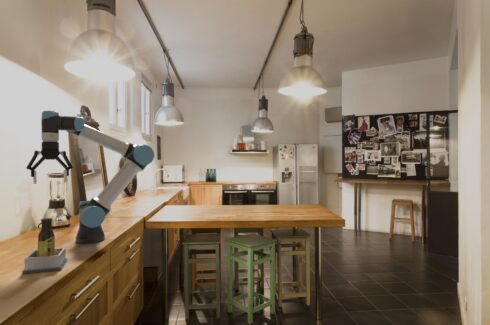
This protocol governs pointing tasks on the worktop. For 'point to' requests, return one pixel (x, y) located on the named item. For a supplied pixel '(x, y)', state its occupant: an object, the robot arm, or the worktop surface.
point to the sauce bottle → (46, 239)
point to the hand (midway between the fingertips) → (50, 183)
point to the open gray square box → (45, 262)
